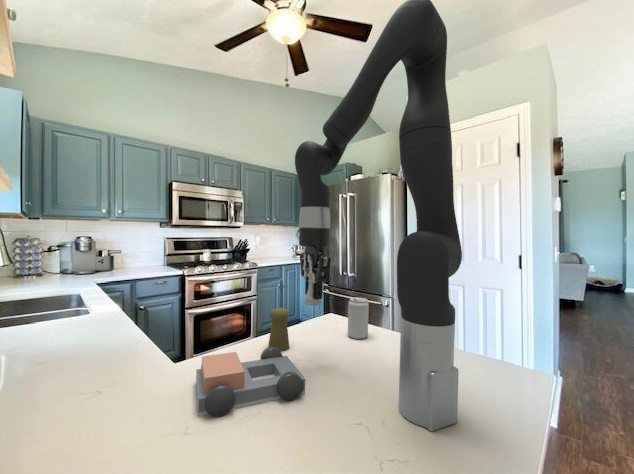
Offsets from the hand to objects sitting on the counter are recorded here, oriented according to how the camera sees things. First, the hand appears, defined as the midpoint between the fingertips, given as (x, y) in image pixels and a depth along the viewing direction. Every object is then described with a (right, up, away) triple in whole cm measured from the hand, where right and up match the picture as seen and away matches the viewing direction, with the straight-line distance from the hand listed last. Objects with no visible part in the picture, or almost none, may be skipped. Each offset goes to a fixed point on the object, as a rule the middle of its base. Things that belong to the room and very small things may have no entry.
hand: (313, 296), depth 72 cm
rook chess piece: (0, -2, 0) cm, 2 cm away
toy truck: (-13, -17, -11) cm, 24 cm away
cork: (-10, -17, +11) cm, 23 cm away
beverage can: (+14, -17, +22) cm, 31 cm away
